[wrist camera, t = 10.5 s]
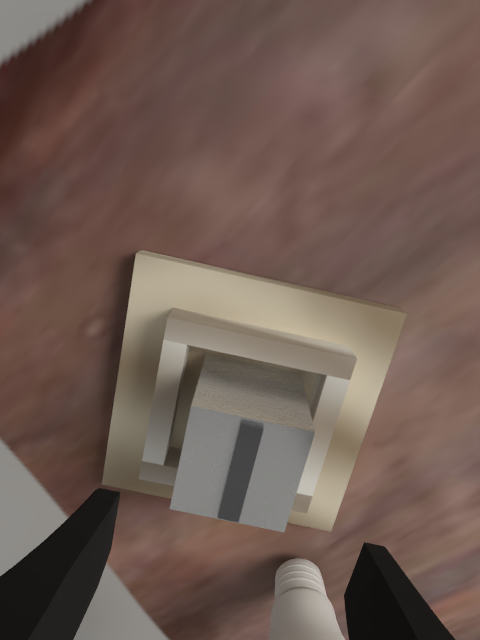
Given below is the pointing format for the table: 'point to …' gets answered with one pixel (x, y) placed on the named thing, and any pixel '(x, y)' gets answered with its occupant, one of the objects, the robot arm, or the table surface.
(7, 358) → the table surface
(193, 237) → the table surface
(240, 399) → the block
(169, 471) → the beige square tray
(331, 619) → the lightbulb
